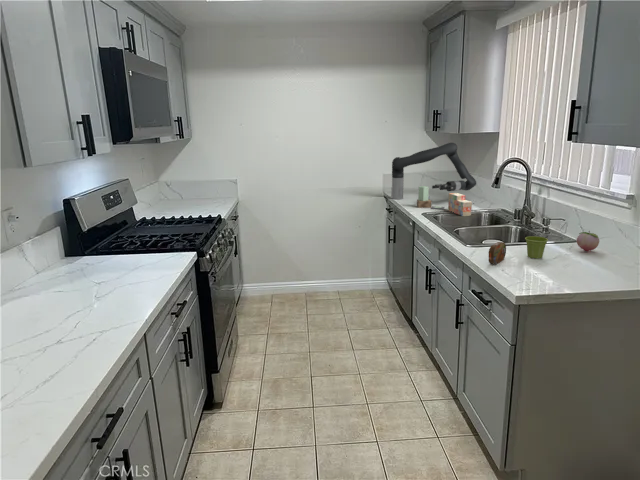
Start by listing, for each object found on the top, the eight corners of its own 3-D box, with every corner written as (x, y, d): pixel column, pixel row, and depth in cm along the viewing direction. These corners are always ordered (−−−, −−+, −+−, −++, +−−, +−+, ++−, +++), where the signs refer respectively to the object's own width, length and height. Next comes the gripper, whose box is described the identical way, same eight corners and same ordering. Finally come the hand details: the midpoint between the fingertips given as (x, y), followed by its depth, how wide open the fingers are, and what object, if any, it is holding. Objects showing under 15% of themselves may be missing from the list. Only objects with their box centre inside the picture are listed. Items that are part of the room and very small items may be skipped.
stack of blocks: (471, 215, 290) (472, 197, 286) (462, 216, 289) (463, 197, 285) (456, 209, 310) (457, 192, 307) (447, 210, 309) (448, 193, 306)
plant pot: (518, 255, 204) (520, 237, 202) (536, 253, 206) (538, 235, 204) (532, 261, 195) (534, 242, 193) (550, 258, 197) (553, 240, 195)
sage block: (423, 201, 319) (423, 187, 317) (418, 200, 324) (418, 186, 321) (428, 200, 322) (428, 186, 319) (423, 199, 326) (423, 186, 324)
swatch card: (431, 208, 315) (431, 207, 315) (431, 207, 321) (432, 206, 321) (444, 209, 312) (444, 208, 312) (444, 207, 318) (444, 206, 318)
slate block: (424, 204, 332) (424, 196, 330) (420, 203, 336) (420, 195, 335) (429, 203, 334) (429, 196, 333) (425, 202, 338) (425, 195, 337)
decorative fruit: (601, 252, 205) (604, 231, 202) (592, 255, 201) (595, 234, 198) (581, 247, 213) (583, 227, 210) (572, 250, 208) (574, 230, 206)
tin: (493, 266, 189) (494, 248, 187) (486, 265, 191) (487, 246, 189) (506, 258, 200) (507, 240, 198) (499, 257, 202) (500, 239, 200)
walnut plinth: (418, 208, 320) (418, 201, 319) (416, 206, 329) (417, 199, 327) (431, 208, 319) (431, 201, 318) (429, 205, 328) (429, 199, 327)
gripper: (446, 180, 337) (430, 181, 330) (460, 182, 325) (443, 183, 318) (446, 189, 339) (429, 191, 332) (459, 192, 327) (442, 194, 320)
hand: (436, 187), depth 325 cm, fingers open, 8 cm apart
